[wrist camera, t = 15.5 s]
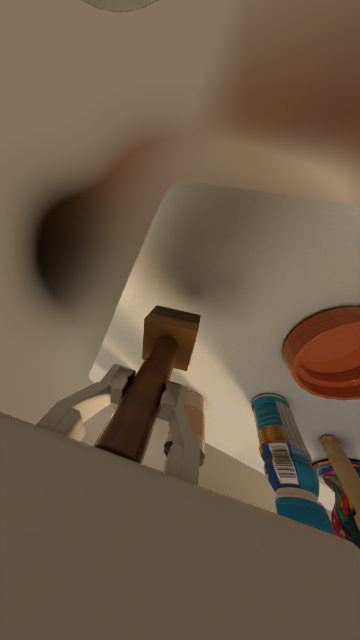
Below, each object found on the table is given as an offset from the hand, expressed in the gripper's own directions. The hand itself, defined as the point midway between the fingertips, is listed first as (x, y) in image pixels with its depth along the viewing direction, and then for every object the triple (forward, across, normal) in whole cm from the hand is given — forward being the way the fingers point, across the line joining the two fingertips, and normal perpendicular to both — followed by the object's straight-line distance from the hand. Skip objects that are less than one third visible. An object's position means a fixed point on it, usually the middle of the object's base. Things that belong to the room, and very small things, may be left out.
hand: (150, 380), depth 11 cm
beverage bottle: (+21, -25, +24) cm, 41 cm away
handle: (+21, -43, +30) cm, 57 cm away
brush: (+8, 0, +1) cm, 8 cm away
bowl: (+21, -28, +4) cm, 35 cm away
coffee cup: (+21, -7, +32) cm, 39 cm away
